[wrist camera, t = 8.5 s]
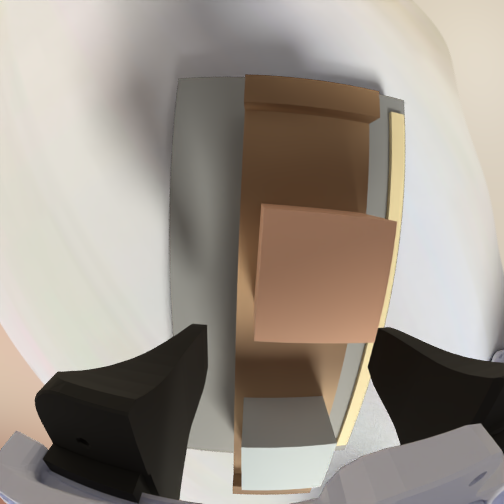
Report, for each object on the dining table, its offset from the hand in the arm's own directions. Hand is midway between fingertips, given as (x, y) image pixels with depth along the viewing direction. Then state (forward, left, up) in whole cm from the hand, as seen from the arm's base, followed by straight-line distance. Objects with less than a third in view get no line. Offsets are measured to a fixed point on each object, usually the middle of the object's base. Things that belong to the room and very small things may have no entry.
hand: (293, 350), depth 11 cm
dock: (0, 0, -6) cm, 6 cm away
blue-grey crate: (0, +4, 0) cm, 4 cm away
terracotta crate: (0, -4, 0) cm, 4 cm away
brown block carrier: (0, 0, -4) cm, 4 cm away
